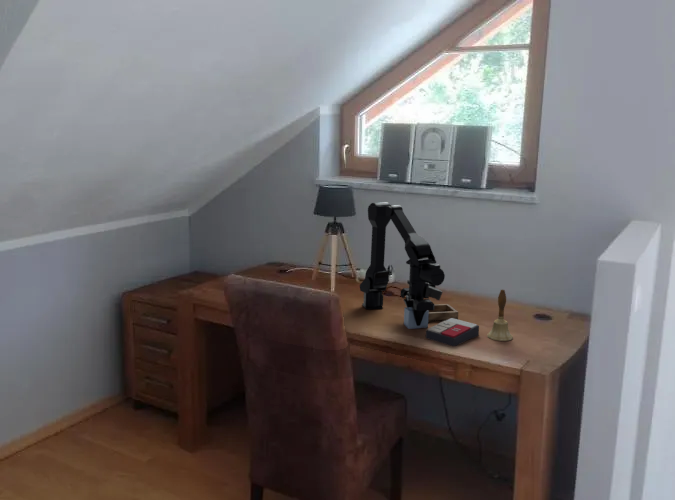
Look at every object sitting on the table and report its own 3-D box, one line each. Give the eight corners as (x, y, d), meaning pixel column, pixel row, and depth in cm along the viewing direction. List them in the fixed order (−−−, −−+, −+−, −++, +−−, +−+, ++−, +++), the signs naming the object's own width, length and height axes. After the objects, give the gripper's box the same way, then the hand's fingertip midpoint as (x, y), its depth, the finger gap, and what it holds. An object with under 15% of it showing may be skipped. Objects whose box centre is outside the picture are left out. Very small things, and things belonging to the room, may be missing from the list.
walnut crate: (425, 321, 232) (426, 313, 232) (416, 313, 242) (416, 305, 241) (457, 320, 235) (458, 311, 234) (447, 311, 244) (448, 303, 244)
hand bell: (482, 337, 218) (485, 290, 214) (494, 331, 224) (498, 285, 220) (505, 343, 212) (508, 295, 209) (517, 337, 218) (521, 290, 215)
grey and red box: (425, 328, 215) (451, 315, 226) (425, 340, 216) (450, 327, 227) (454, 336, 208) (479, 323, 218) (454, 349, 209) (479, 335, 219)
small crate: (408, 328, 224) (408, 311, 223) (403, 324, 229) (404, 307, 228) (427, 327, 226) (428, 310, 224) (423, 323, 230) (423, 306, 229)
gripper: (450, 285, 217) (447, 330, 220) (431, 271, 234) (429, 314, 238) (417, 286, 214) (415, 332, 218) (400, 272, 232) (399, 315, 235)
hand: (415, 323), depth 227 cm, fingers closed on small crate, 5 cm apart
